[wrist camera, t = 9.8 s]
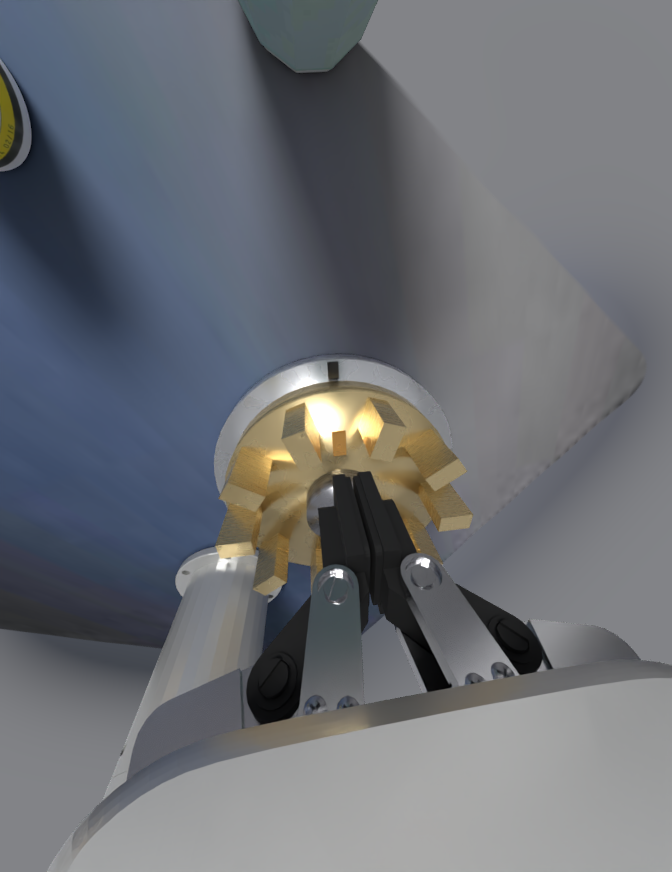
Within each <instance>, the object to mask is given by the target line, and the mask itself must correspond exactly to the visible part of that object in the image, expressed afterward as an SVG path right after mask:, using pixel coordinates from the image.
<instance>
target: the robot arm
mask: <svg viewBox="0 0 672 872" xmlns="http://www.w3.org/2000/svg"><path fill="white" fill-rule="evenodd" d="M332 484H333V499H334V506H330V507H321V508H318V515H319V527H320V540H321V552H322V564H323V569H322V570H321V571H320V572H318V574H317V575H316V577H315V578H314V582H313V586H312V595H311V596H310V597H309V598H308V600H307V601H306V602H305V603H304V604H303V606H302V607H301V608H300V609H299V610H298V612H297V613H296V614H295V615H294V616H293V618H292V619H291V620H290V621H289V622H288V624H287V625H286V626H285V627H284V628H283V630H282V631H281V632H280V633H279V634H278V636H277V637H276V638H275V639H274V640H273V642H272V643H271V644H270V645H269V646H268V648H267V649H266V650H265V651H264V653H263V654H262V648H263V640H264V631H265V623H266V614H267V606H268V603H269V602H270V601H271V600H273V599H274V598H275V597H276V596H277V595H278V594H279V592H280V590H281V588H282V586H280V587H279V588H277V589H276V590H274V591H272V592H271V593H269V594H267V595H266V596H265V595H263V594H261V593H259V592H257V591H255V590H253V589H252V588H253V582H254V577H255V571H256V565H257V559H258V554H259V550H256V552H255V555H248V556H240V557H232V558H224V559H221V558H220V556H219V554H218V552H217V549H216V547H211V548H207V549H204V550H201V551H199V552H196V553H194V554H193V555H191V556H189V557H188V558H187V559H186V560H185V561H184V562H183V563H182V565H181V566H180V568H179V570H178V573H177V575H176V580H175V584H176V587H177V590H178V591H179V593H180V594H181V596H182V597H183V598H182V601H181V603H180V606H179V608H178V611H177V613H176V616H175V618H174V621H173V623H172V626H171V629H170V631H169V634H168V636H167V639H166V641H165V644H164V646H163V649H162V651H161V654H160V656H159V659H158V662H157V664H156V667H155V669H154V672H153V674H152V677H151V679H150V682H149V684H148V687H147V689H146V692H145V694H144V697H143V699H142V702H141V705H140V707H139V710H138V713H137V714H136V717H135V719H134V722H133V724H132V727H131V729H130V732H129V735H128V737H127V740H126V742H125V745H124V747H123V750H122V753H121V755H120V757H119V760H118V763H117V765H116V768H115V771H114V773H113V776H112V778H111V781H110V782H109V785H108V787H107V790H106V793H105V795H104V798H103V800H102V802H101V803H100V804H99V805H97V806H96V807H95V808H94V809H93V810H92V811H91V812H90V814H88V816H86V817H85V819H84V820H83V821H82V822H81V823H80V824H79V825H78V826H77V828H76V829H75V830H74V831H73V833H72V834H71V835H70V836H69V838H68V839H67V841H66V842H65V844H64V845H63V846H62V848H61V849H60V851H59V852H58V854H57V855H56V857H55V858H54V860H53V861H52V863H51V865H50V866H49V868H48V870H47V872H672V665H670V664H665V663H661V662H654V661H646V660H641V659H640V658H639V656H638V655H637V654H636V653H635V651H634V650H633V649H632V648H631V647H630V646H629V645H628V644H627V643H626V642H625V641H623V640H622V639H621V638H620V637H619V636H617V635H616V634H614V633H612V632H610V631H609V630H607V629H605V628H601V627H598V626H593V625H583V624H574V623H564V622H554V621H544V620H534V619H529V620H528V622H523V621H520V620H519V619H518V618H516V617H515V616H513V615H511V614H509V613H508V612H506V611H504V610H502V609H500V608H499V607H497V606H495V605H493V604H491V603H490V602H488V601H486V600H484V599H483V598H481V597H479V596H477V595H475V594H474V593H472V592H470V591H468V590H466V589H464V588H463V587H461V586H459V585H458V584H455V583H454V581H453V580H452V578H451V577H450V575H449V574H448V573H447V571H446V570H445V568H444V567H443V566H442V565H441V563H440V562H439V561H438V560H436V559H435V558H433V557H432V556H429V555H427V554H423V553H417V550H416V548H415V546H414V544H413V542H412V540H411V537H410V535H409V533H408V531H407V529H406V526H405V524H404V522H403V520H402V518H401V516H400V513H399V511H398V509H397V507H396V505H395V503H394V501H393V500H392V499H387V500H382V498H381V496H380V493H379V491H378V489H377V486H376V484H375V481H374V479H373V476H372V474H371V472H370V471H365V472H358V473H357V476H353V486H352V483H351V479H350V477H345V474H338V475H332ZM369 593H370V595H371V599H372V603H373V605H378V607H379V611H380V614H384V613H385V616H386V619H387V620H388V621H390V622H391V623H392V624H394V626H395V629H396V632H397V635H398V637H399V640H400V642H401V644H402V647H403V649H404V651H405V654H406V656H407V658H408V661H409V663H410V666H411V668H412V670H413V673H414V675H415V677H416V680H417V682H418V684H419V687H420V689H421V691H422V693H421V694H416V695H411V696H405V697H400V698H395V699H390V700H384V701H379V702H374V703H369V704H365V701H364V682H363V681H364V680H363V660H362V642H361V641H362V640H361V633H362V631H363V630H364V628H365V626H366V625H367V623H368V606H369Z"/></svg>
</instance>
